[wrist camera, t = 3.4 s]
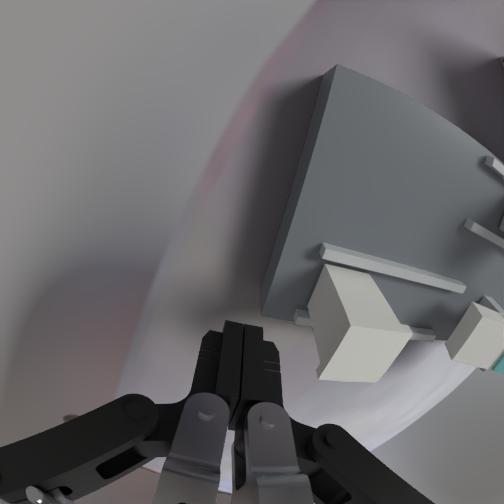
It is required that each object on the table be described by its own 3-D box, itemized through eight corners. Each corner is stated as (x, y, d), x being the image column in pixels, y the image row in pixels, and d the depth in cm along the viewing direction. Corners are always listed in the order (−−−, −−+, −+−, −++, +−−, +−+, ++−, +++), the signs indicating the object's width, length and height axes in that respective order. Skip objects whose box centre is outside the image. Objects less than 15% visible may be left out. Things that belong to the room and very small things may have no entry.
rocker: (476, 294, 14) (488, 311, 12) (536, 322, 13) (547, 337, 11) (440, 349, 16) (447, 369, 14) (506, 366, 15) (513, 382, 13)
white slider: (323, 259, 15) (350, 325, 10) (373, 271, 15) (413, 333, 10) (303, 307, 16) (317, 379, 11) (351, 316, 17) (377, 382, 12)
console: (323, 74, 13) (353, 52, 8) (529, 200, 15) (565, 220, 10) (260, 288, 20) (261, 342, 15) (471, 325, 22) (495, 357, 17)
